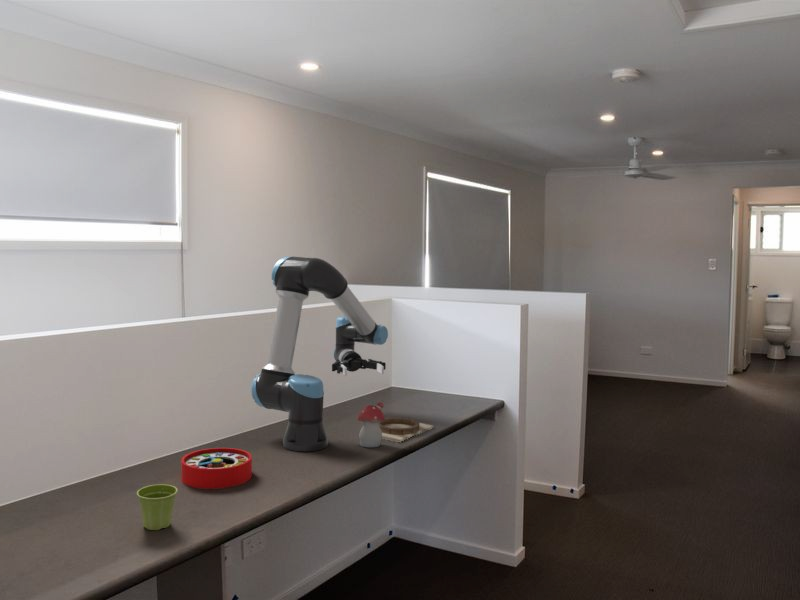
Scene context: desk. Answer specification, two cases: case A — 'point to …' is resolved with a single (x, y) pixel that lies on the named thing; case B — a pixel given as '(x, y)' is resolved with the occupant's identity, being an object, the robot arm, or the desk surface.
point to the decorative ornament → (371, 425)
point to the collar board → (403, 437)
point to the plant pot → (157, 505)
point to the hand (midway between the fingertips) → (364, 371)
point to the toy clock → (216, 468)
